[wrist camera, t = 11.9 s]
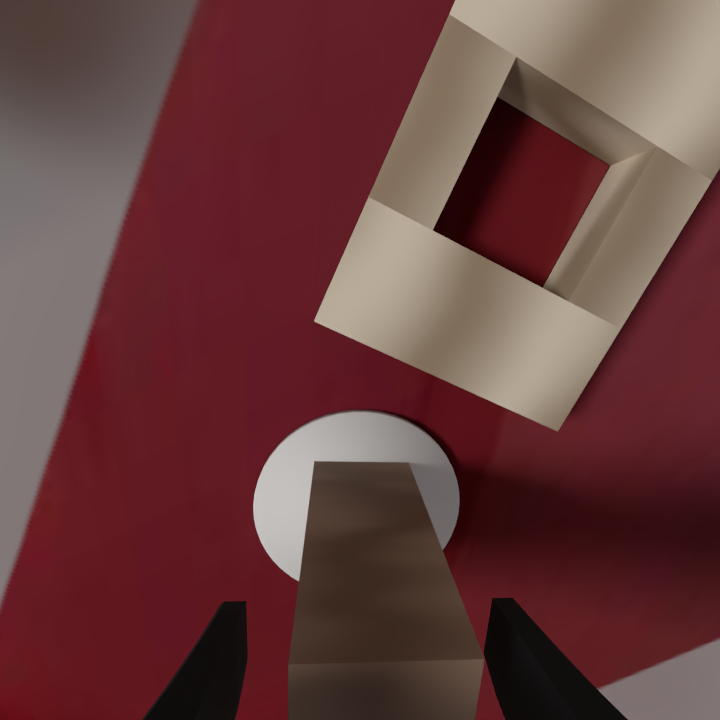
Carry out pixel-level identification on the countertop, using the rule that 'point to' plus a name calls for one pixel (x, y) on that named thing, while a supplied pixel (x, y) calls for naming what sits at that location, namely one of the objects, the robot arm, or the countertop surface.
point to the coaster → (346, 444)
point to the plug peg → (377, 605)
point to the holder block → (598, 224)
